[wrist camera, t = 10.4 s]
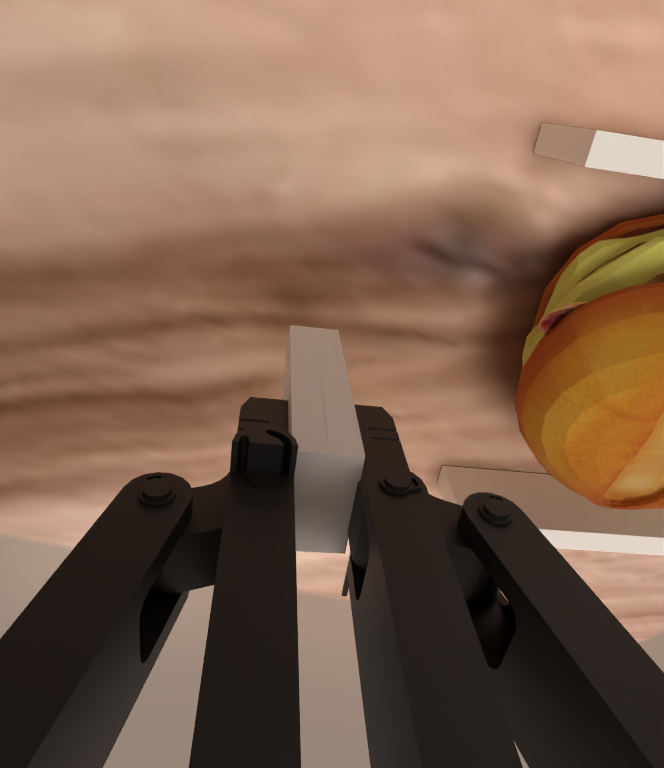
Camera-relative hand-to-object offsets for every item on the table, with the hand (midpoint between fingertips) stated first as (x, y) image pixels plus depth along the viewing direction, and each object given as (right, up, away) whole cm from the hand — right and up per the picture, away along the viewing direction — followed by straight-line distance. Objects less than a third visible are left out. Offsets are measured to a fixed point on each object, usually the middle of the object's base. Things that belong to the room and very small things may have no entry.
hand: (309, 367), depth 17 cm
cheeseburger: (+13, +2, +6) cm, 14 cm away
